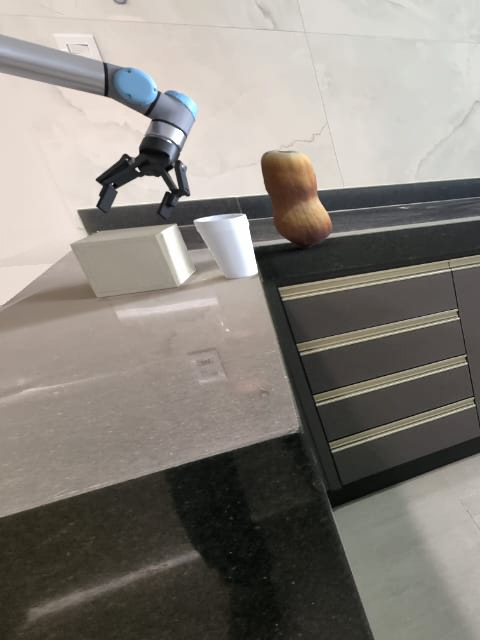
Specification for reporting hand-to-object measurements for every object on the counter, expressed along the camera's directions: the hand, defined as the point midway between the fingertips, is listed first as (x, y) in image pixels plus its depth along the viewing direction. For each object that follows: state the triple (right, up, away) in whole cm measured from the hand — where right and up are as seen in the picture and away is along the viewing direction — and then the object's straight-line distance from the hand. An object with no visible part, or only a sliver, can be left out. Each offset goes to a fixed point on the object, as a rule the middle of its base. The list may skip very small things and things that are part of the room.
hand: (132, 213), depth 130 cm
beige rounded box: (+16, -19, -12) cm, 28 cm away
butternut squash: (+34, -5, +16) cm, 38 cm away
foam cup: (+34, -17, -8) cm, 38 cm away
